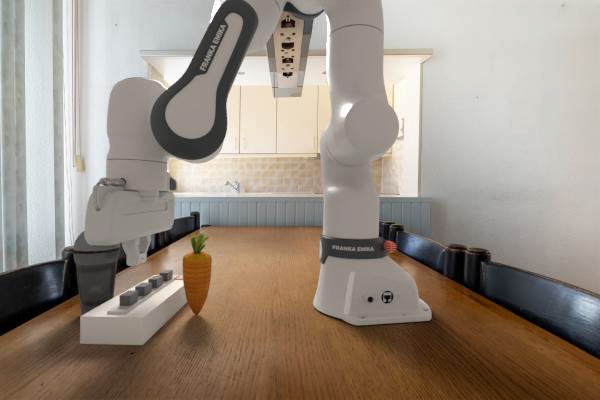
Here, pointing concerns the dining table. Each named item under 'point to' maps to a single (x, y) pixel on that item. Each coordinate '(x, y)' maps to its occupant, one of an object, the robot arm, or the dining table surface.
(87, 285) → the beverage cup
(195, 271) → the carrot
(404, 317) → the robot arm
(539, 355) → the dining table surface
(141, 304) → the breaker panel
